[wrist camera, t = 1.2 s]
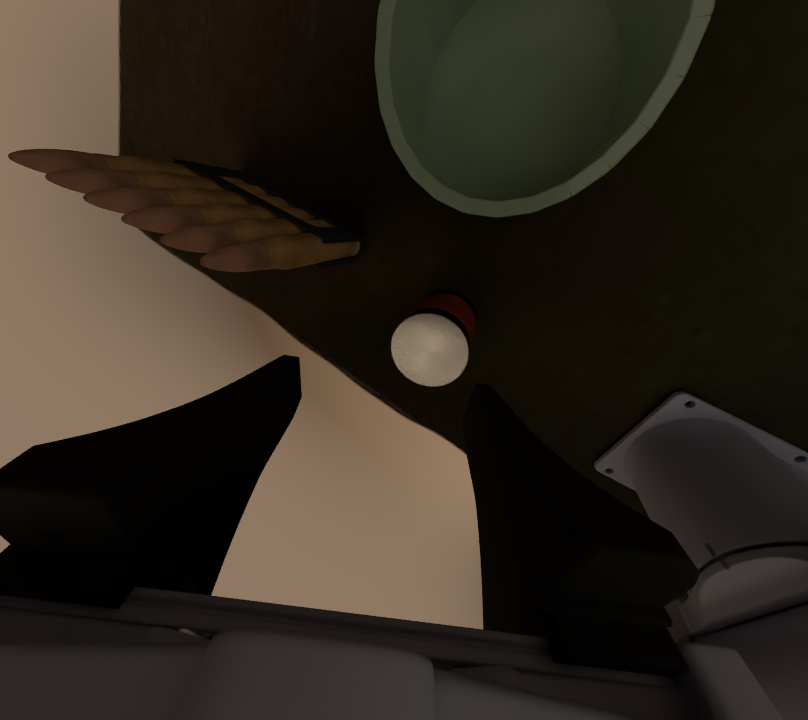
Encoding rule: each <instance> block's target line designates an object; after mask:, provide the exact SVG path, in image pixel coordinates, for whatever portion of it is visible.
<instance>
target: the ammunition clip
mask: <svg viewBox="0 0 808 720" xmlns="http://www.w3.org/2000/svg"><path fill="white" fill-rule="evenodd" d="M8 157H9V159H11V160H12V161H14V162H16V163H18V164H21V165H23V166H25V167H28V168H31V169H33V170H36V171H40V172H43V173H46V175H45V177H46V179H47V180H48V181H50V182H52V183H54V184H57V185H59V186H62V187H64V188H67V189H70V190H74V191H77V192H81V193H85V194H86V195H84V197H83V198H84V200H85V201H86V202H88V203H90V204H93V205H95V206H97V207H100V208H103V209H107V210H111V211H115V212H119V213H124V214H125V215H123V216H122V217H121V220H122V221H123V222H124V223H126V224H128V225H131V226H134V227H136V228H140V229H144V230H148V231H152V232H158V233H166V234H165V235H164V236H162V237H161V238H160V242H161V243H162V244H164V245H166V246H169V247H172V248H175V249H179V250H185V251H191V252H200V253H208V254H206V255H205V256H204V257H202V258H201V259H200V264H201V265H202V266H204V267H207V268H210V269H214V270H220V271H228V272H249V271H256V270H267V269H285V270H286V269H292V268H297V267H302V266H307V265H310V266H312V267H314V268H316V269H321V268H326V267H331V266H335V265H340V264H345V263H350V262H355V261H358V259H359V256H360V253H361V250H362V247H363V244H364V241H365V237H364V235H362V234H360V233H358V232H356V231H354V230H352V229H350V228H348V227H346V226H345V225H343V224H341V223H339V222H337V221H335V220H333V219H331V218H329V217H327V216H325V215H323V214H322V213H320V212H318V211H316V210H314V209H312V208H310V207H308V206H306V205H304V204H302V203H300V202H298V201H297V200H295V199H293V198H291V197H289V196H287V195H285V194H283V193H281V192H279V191H277V190H275V189H273V188H272V187H270V186H268V185H266V184H264V183H262V182H260V181H258V180H256V179H254V178H252V177H250V176H248V175H247V174H245V173H243V172H241V171H236V170H231V169H226V168H221V167H215V166H210V165H205V164H199V163H194V162H189V161H184V160H178V159H174V163H170V162H165V161H159V160H154V159H148V158H143V157H137V156H111V155H104V154H95V153H94V154H91V153H85V152H79V151H71V150H58V149H30V150H21V151H16V152H12V153H10V154H9V155H8Z"/></svg>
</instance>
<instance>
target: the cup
mask: <svg viewBox="0 0 808 720" xmlns="http://www.w3.org/2000/svg"><path fill="white" fill-rule="evenodd" d="M714 4H715V0H380V4H379V9H378V16H377V30H376V47H375V75H376V83H377V92H378V100H379V108H380V113H381V115H382V118H383V121H384V124H385V127H386V130H387V133H388V136H389V139H390V142H391V145H392V147H393V149H394V151H395V152H396V154H397V156H398V157H399V159H400V160H401V162H402V163H403V165H404V167H405V168H406V170H407V171H408V173H409V175H410V176H411V177H412V178H413V179H414V180H415V181H416V182H417V183H418V184H419V185H420V186H421V187H422V188H423V189H425V190H426V191H427V192H428V193H429V194H430V195H431V196H432V197H433V198H434V199H436V200H438V201H440V202H442V203H444V204H446V205H448V206H450V207H452V208H455V209H457V210H459V211H461V212H463V213H466V214H469V215H472V216H476V217H482V218H489V219H496V220H497V219H499V220H500V219H507V218H515V217H522V216H525V215H528V214H531V213H534V212H537V211H539V210H541V209H544V208H546V207H549V206H551V205H554V204H556V203H559V202H561V201H564V200H566V199H568V198H570V197H572V196H574V195H576V194H577V193H579V192H580V191H581V190H583V189H584V188H586V187H587V186H589V185H590V184H592V183H593V182H594V181H596V180H597V179H599V178H600V177H602V176H603V175H605V174H606V173H607V172H609V171H610V169H612V168H614V167H615V166H616V164H617V163H618V162H619V161H620V160H621V159H622V158H623V157H624V156H625V155H626V154H627V153H628V152H629V151H630V150H631V149H632V148H633V147H634V146H635V145H636V144H637V143H638V142H639V141H640V140H641V139H642V138H643V137H644V136H645V135H646V134H647V133H648V131H649V130H650V129H651V128H652V126H653V125H654V123H655V122H656V120H657V119H658V118H659V116H660V115H661V113H662V112H663V110H664V109H665V107H666V106H667V104H668V103H669V101H670V100H671V98H672V97H673V95H674V94H675V92H676V91H677V89H678V88H679V86H680V85H681V83H682V82H683V80H684V77H685V76H686V74H687V72H688V70H689V67H690V65H691V63H692V60H693V58H694V56H695V54H696V51H697V49H698V47H699V44H700V42H701V40H702V37H703V35H704V33H705V31H706V28H707V26H708V24H709V21H710V19H711V16H710V15H711V14H712V12H713V9H714Z"/></svg>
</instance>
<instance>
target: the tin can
mask: <svg viewBox="0 0 808 720" xmlns="http://www.w3.org/2000/svg"><path fill="white" fill-rule="evenodd" d="M476 325H477V315H476V311H475V309H474V307H473V305H472V303H471V302H470V301H469V300H468V299H467V298H466V297H465V296H463V295H462V294H460V293H458V292H455V291H450V290H442V291H437V292H434V293H432V294H430V295H429V296H428V297H426V298H425V299H424V300H423V301H422V302H421V303H420V304H419V305H418V306H417V307H416V308H415V309H414V310H413V311H412V312H411V313H410V314H409V315H408V316H407V317H406V318H405V319H404V320H403V321H402V322H401V323H400V324H399V325H398V326H397V328H396V329H395V331H394V333H393V336H392V340H391V353H392V357H393V360H394V362H395V364H396V366H397V368H398V369H399V370H400V372H401V373H402V374H403V375H404V376H405V377H407V378H408V379H410V380H411V381H413V382H415V383H417V384H420V385H424V386H430V387H437V386H442V385H446V384H448V383H451V382H452V381H454V380H456V379H457V378H458V377H459V376H460V375H461V374H462V373H463V371H464V370H465V368H466V366H467V363H468V359H469V356H470V352H471V348H472V344H473V339H474V335H475V330H476Z"/></svg>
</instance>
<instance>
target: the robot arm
mask: <svg viewBox="0 0 808 720" xmlns="http://www.w3.org/2000/svg"><path fill="white" fill-rule="evenodd" d="M299 362H300V361H299V357H295V356H287V355H283V356H281V357H279V358H277V359H275V360H273V361H272V362H270V363H268V364H266V365H265V366H263V367H261V368H259V369H257V370H256V371H254V372H252V373H250V374H248V375H246V376H245V377H243V378H241V379H239V380H237V381H235V382H233V383H231V384H229V385H227V386H225V387H223V388H221V389H219V390H217V391H215V392H213V393H211V394H209V395H206V396H204V397H202V398H199V399H197V400H194V401H192V402H189V403H187V404H184V405H182V406H179V407H176V408H173V409H170V410H168V411H165V412H162V413H159V414H156V415H153V416H150V417H147V418H144V419H141V420H137V421H135V422H131V423H127V424H124V425H120V426H117V427H113V428H109V429H105V430H102V431H98V432H94V433H90V434H85V435H81V436H76V437H72V438H67V439H63V440H59V441H54V442H50V443H45V444H40V445H35V446H33V447H31V448H30V449H28V450H27V451H25V452H24V453H22V454H21V455H19V456H18V457H16V458H15V459H13V460H12V461H11V462H9V463H8V464H6V465H5V466H3V467H2V468H1V469H0V535H1V536H2V537H3V538H4V539H5V540H6V541H8V542H9V543H10V545H9V546H8V547H7V548H6V549H4V550H3V551H2V552H1V553H0V720H808V452H806V451H804V450H802V449H800V448H798V447H796V446H794V445H792V444H790V443H788V442H786V441H784V440H782V439H780V438H778V437H776V436H774V435H772V434H770V433H768V432H766V431H764V430H762V429H760V428H758V427H756V426H754V425H752V424H749V423H747V422H745V421H743V420H741V419H739V418H737V417H735V416H733V415H731V414H729V413H727V412H725V411H723V410H721V409H719V408H717V407H715V406H713V405H711V404H709V403H707V402H705V401H703V400H701V399H699V398H697V397H695V396H693V395H691V394H689V393H687V392H683V391H678V392H675V393H673V394H672V395H671V396H669V397H668V398H667V399H666V400H665V401H664V402H663V403H661V404H660V405H659V406H658V407H657V408H656V409H655V410H653V411H652V412H651V413H650V414H649V415H648V416H647V417H645V418H644V419H643V420H642V421H641V422H640V423H639V424H637V425H636V426H635V427H634V428H633V429H632V430H631V431H629V432H628V433H627V434H626V435H625V436H624V437H623V438H621V439H620V440H619V441H618V442H617V443H616V444H615V445H613V446H612V447H611V448H610V449H609V450H608V451H607V452H605V453H604V454H603V455H602V456H601V457H600V458H599V459H597V460H596V461H595V463H594V466H595V468H596V470H597V471H599V472H600V473H602V474H604V475H606V476H608V477H610V478H612V479H614V480H616V481H618V482H619V483H621V484H623V485H625V486H627V487H629V488H631V489H633V490H635V491H636V492H637V494H638V496H639V498H640V500H641V502H642V504H643V506H644V508H645V510H646V512H647V514H648V516H649V518H650V519H648V518H647V517H645V516H643V515H642V514H640V513H638V512H636V511H635V510H633V509H631V508H630V507H628V506H627V505H625V504H623V503H622V502H620V501H619V500H617V499H616V498H614V497H613V496H611V495H610V494H608V493H607V492H605V491H604V490H602V489H601V488H599V487H598V486H597V485H595V484H594V483H592V482H591V481H590V480H588V479H587V478H586V477H584V476H583V475H582V474H580V473H579V472H578V471H576V470H575V469H574V468H572V467H571V466H570V465H569V464H567V463H566V462H565V461H564V460H563V459H561V458H560V457H559V456H558V455H557V454H556V453H554V452H553V451H552V450H551V449H550V448H549V447H548V446H546V445H545V444H544V443H543V442H542V441H541V440H540V439H539V438H538V437H537V436H536V435H535V434H534V433H533V432H532V431H531V430H530V429H529V428H528V427H527V426H526V425H525V424H524V423H523V422H522V421H521V420H520V418H519V417H518V416H517V415H516V414H515V413H514V412H513V411H512V409H511V408H510V407H509V406H508V405H507V404H506V403H505V401H504V400H503V399H502V398H501V397H500V396H499V394H498V393H497V392H496V391H495V390H494V389H493V388H492V387H491V386H490V385H485V384H478V383H475V386H474V389H473V392H472V395H471V398H470V401H469V404H468V407H467V410H466V413H465V416H464V419H463V429H464V443H465V448H466V453H467V458H468V464H469V469H470V474H471V479H472V483H473V488H474V494H475V501H476V509H477V520H478V530H479V544H480V556H481V576H482V597H483V630H481V629H474V628H465V627H458V626H450V625H441V624H433V623H425V622H418V621H410V620H401V619H394V618H386V617H377V616H369V615H362V614H353V613H345V612H337V611H329V610H321V609H313V608H305V607H296V606H289V605H281V604H273V603H265V602H257V601H249V600H241V599H233V598H225V597H217V596H211V594H212V591H213V589H214V586H215V583H216V581H217V578H218V575H219V573H220V570H221V567H222V565H223V562H224V559H225V556H226V554H227V551H228V549H229V547H230V544H231V541H232V539H233V537H234V534H235V532H236V529H237V527H238V524H239V522H240V519H241V517H242V515H243V513H244V510H245V508H246V506H247V503H248V501H249V498H250V497H251V494H252V492H253V490H254V488H255V485H256V483H257V481H258V479H259V476H260V475H261V473H262V471H263V469H264V467H265V465H266V463H267V462H268V460H269V458H270V457H271V455H272V453H273V452H274V450H275V448H276V446H277V445H278V443H279V441H280V440H281V438H282V436H283V434H284V433H285V431H286V429H287V427H288V426H289V424H290V422H291V420H292V419H293V417H294V414H295V412H296V409H297V407H298V405H299V402H300V400H301V397H302V395H301V378H300V363H299ZM688 401H692V402H691V403H690V404H688V405H685V403H686V402H688ZM798 456H799V457H798ZM796 457H797V458H796ZM608 468H610V470H606V469H608ZM686 592H688V594H689V598H688V599H687V600H685V601H684V602H682V603H680V604H679V605H678V607H679V609H680V611H681V613H682V616H683V617H684V620H685V622H686V624H687V626H688V628H689V630H690V634H685V635H684V636H683V637H681V638H680V639H679V641H678V642H677V643H675V642H674V640H673V639H672V637H671V635H670V633H669V631H668V630H667V628H666V627H671V626H672V620H671V618H670V616H669V615H668V613H667V611H666V610H665V608H664V606H665V605H667V604H669V603H670V602H672V601H674V600H675V599H677V598H678V597H680V596H681V595H683V594H685V593H686Z"/></svg>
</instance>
